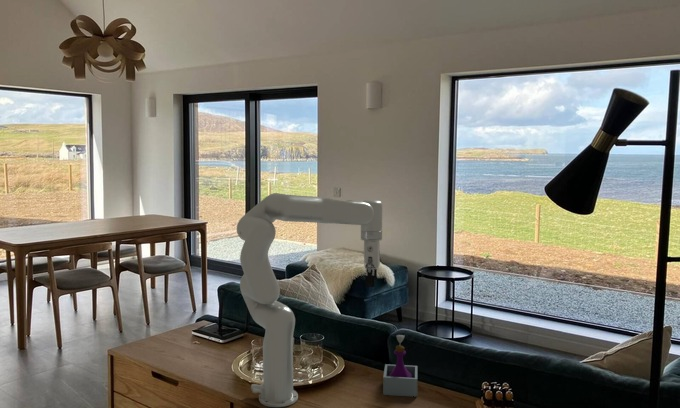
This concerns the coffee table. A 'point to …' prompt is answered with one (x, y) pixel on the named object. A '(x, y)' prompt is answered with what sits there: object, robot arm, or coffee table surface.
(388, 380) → the walled box
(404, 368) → the perfume bottle
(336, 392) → the coffee table surface
